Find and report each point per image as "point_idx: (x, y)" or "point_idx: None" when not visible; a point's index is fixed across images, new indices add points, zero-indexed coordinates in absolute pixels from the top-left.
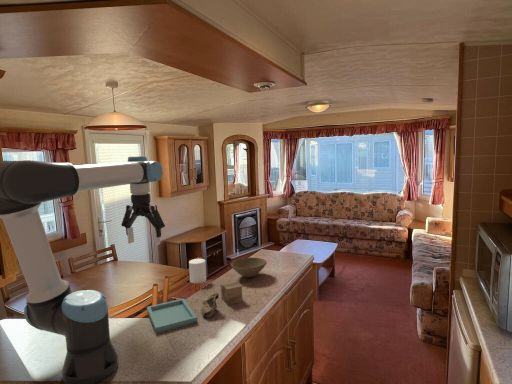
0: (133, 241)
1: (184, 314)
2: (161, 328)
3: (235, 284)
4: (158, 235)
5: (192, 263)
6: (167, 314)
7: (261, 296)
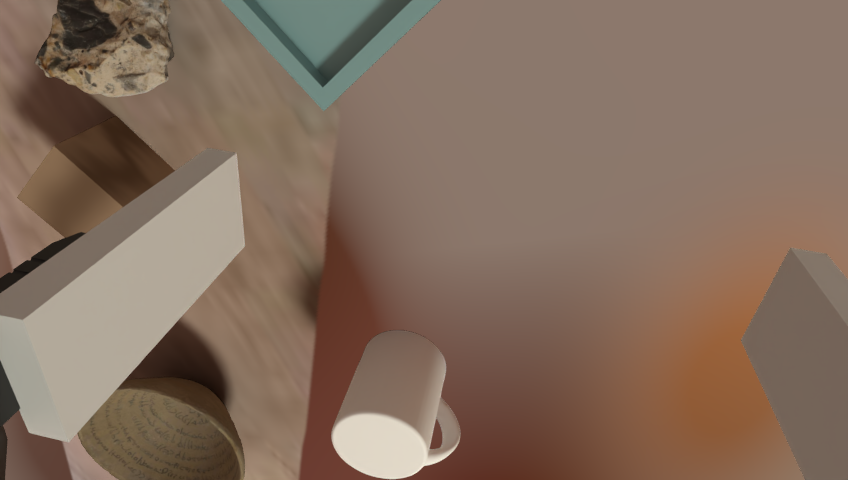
0: (749, 337)
1: None
2: None
3: (56, 211)
4: (55, 253)
5: (384, 416)
6: None
7: (35, 216)
